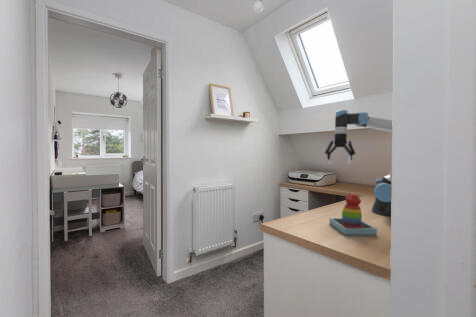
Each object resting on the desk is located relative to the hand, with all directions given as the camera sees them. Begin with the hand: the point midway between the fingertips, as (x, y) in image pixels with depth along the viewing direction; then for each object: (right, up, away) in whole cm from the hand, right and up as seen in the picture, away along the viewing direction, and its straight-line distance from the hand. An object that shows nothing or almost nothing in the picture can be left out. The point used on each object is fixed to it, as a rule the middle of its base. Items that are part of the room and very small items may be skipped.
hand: (339, 164), depth 158 cm
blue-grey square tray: (-10, -33, -37) cm, 51 cm away
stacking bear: (-10, -32, -37) cm, 50 cm away
